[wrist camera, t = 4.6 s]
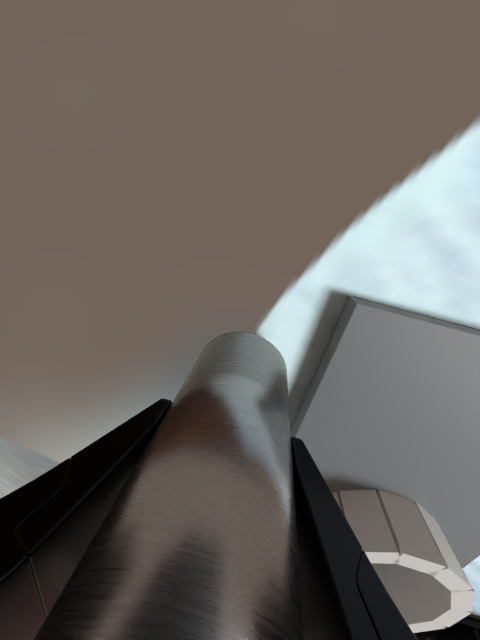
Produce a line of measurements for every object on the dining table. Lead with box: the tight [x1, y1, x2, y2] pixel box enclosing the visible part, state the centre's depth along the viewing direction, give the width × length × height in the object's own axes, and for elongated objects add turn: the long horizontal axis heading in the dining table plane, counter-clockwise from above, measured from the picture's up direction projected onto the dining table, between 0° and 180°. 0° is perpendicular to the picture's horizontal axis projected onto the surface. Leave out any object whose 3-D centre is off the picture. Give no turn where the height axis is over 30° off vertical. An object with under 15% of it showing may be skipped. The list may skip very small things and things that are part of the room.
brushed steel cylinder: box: [34, 332, 303, 640], centre depth 8 cm, size 9×5×10 cm, turn 167°
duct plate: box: [290, 296, 480, 633], centre depth 13 cm, size 20×14×4 cm
